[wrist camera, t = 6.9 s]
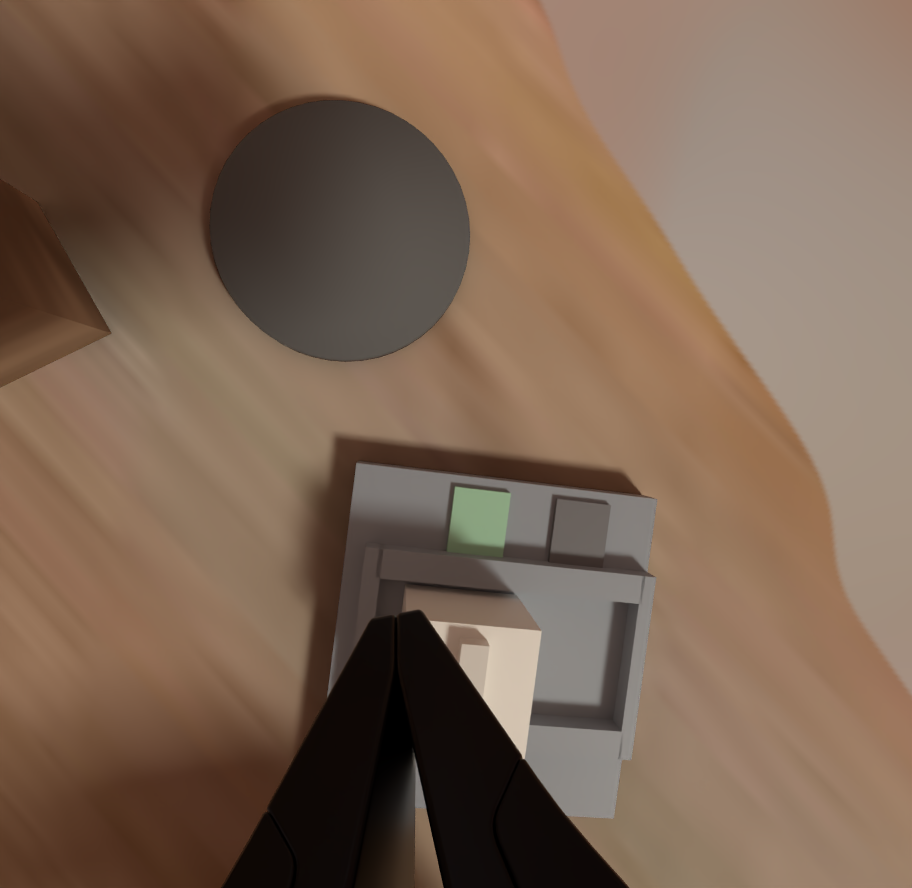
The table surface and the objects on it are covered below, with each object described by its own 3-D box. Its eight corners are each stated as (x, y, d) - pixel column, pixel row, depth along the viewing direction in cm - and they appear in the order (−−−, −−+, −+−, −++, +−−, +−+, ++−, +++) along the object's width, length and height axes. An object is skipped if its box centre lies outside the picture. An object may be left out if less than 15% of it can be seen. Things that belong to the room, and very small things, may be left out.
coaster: (451, 377, 21) (452, 375, 20) (200, 342, 20) (194, 339, 19) (482, 134, 20) (485, 126, 20) (231, 87, 19) (226, 77, 19)
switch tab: (502, 704, 20) (527, 774, 16) (390, 696, 19) (389, 765, 15) (516, 594, 20) (546, 637, 16) (405, 583, 19) (407, 625, 15)
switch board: (601, 797, 22) (622, 834, 20) (318, 780, 21) (310, 818, 19) (642, 495, 22) (667, 502, 20) (358, 460, 20) (354, 464, 18)
